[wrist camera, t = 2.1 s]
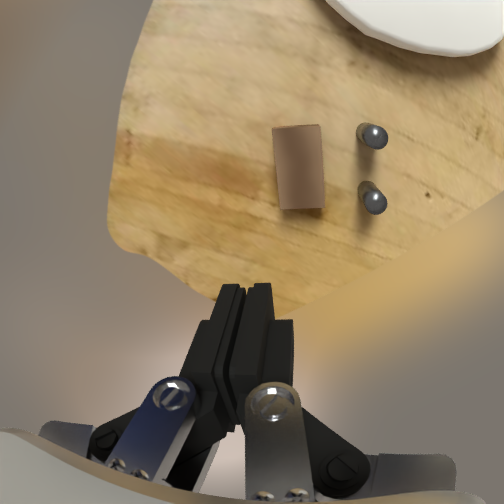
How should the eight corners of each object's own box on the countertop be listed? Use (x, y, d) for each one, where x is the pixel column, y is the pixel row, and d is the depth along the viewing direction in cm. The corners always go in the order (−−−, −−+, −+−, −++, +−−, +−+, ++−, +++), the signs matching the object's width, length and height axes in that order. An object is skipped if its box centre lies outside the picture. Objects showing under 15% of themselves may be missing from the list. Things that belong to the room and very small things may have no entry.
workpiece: (318, 124, 30) (320, 126, 27) (322, 197, 34) (325, 207, 31) (274, 126, 31) (271, 129, 28) (282, 199, 35) (280, 209, 32)
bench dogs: (375, 122, 28) (387, 126, 24) (376, 199, 33) (386, 214, 28) (355, 122, 29) (364, 125, 25) (357, 199, 33) (365, 214, 29)
